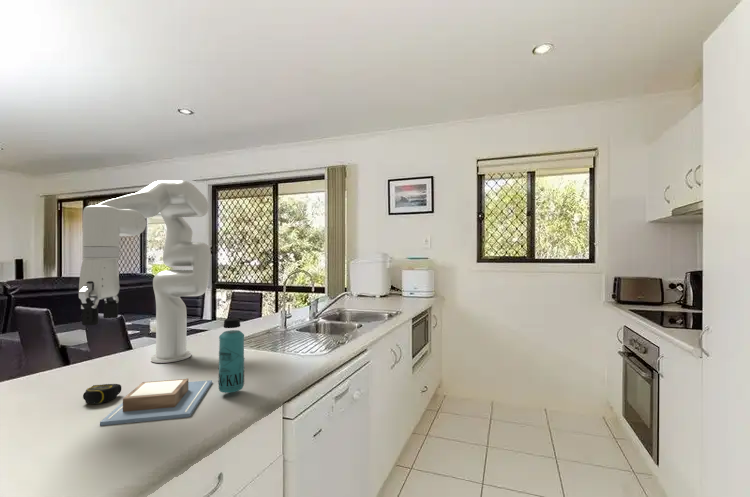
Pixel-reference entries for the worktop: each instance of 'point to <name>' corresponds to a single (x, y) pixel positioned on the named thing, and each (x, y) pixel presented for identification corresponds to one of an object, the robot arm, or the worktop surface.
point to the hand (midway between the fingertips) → (101, 321)
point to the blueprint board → (161, 412)
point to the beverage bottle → (231, 358)
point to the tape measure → (101, 393)
